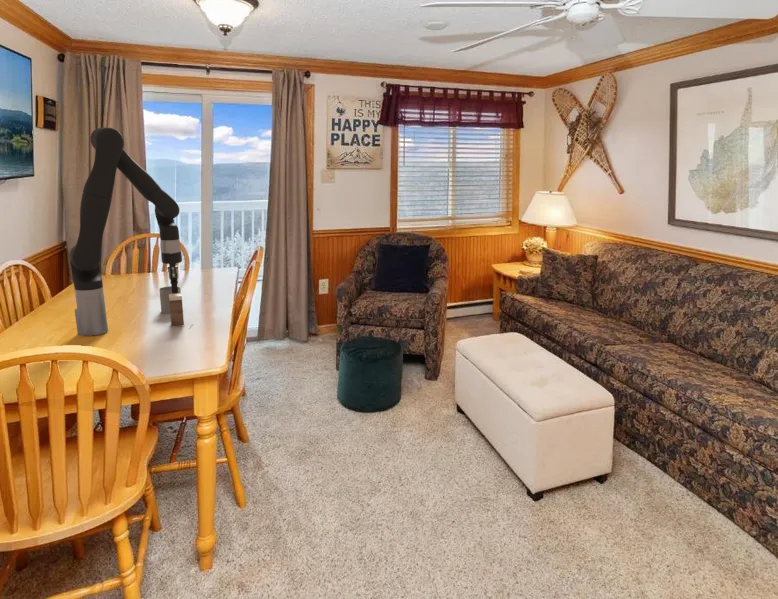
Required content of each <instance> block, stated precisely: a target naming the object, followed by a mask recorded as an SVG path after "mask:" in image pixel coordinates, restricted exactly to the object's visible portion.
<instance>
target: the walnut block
mask: <svg viewBox="0 0 778 599" xmlns="http://www.w3.org/2000/svg"><path fill="white" fill-rule="evenodd" d="M169 302H170V314H169V315H170V323H171V324H170V325H171V327H172V326H174V327H183V326H182V325H184V326H185V321H184V309H183V308H184V307H183V295H182V293H181V294H169Z"/></svg>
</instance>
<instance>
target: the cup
mask: <svg viewBox="0 0 778 599" xmlns="http://www.w3.org/2000/svg"><path fill="white" fill-rule="evenodd" d="M177 287H178V293H172V287H171V285H170V286H163V287H160V288H159V299H160V300H159V301H160V302H159V303H160V312H163V313H162V314H164V313H170V302H169V294H181V295H182V293H181V292H182V291H181V287H180V286H177Z"/></svg>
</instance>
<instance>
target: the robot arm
mask: <svg viewBox="0 0 778 599" xmlns="http://www.w3.org/2000/svg"><path fill="white" fill-rule="evenodd" d="M89 139H90V143H91V145H92V147H93V148H94V150H95V155H94V162H93V166H92V169H91V171H90V173H89V174H88V177H87V179H86V180H85V183H84V186H83V189H82V195H81V199H80V208H79V232H78V238H77V241H76V244H75V245H73V247H72V248H71V249H70V251H69V263H70V270H71V278H72V282H73V287H74V294H75V302H76V304H75V305H76V308H74V316H75V324H76V330H77V331H76V332H77V335H81V336H83V335H84V337H92V336H91V335H95V336H100V335H99V334H101V335H104V334H106V333H108V332H107V331H109V327H108V317H107V309H106V300H105V293H104V284H103V283H104V282H103V277H102V274H101V267H100V263H101V258H102V245H103V235H104V231H105V227H106V224H107V221H108V217H109V213H110V210H111V205H112V199H113V193H114V192H113V191H114V186H115V181H116V174H117V169H118V170H119V171H120V172H121V173H122V174H123V175H124V176H125V178H126V179H127V180H128V181H129V182H130V184H132V185H133V186H134V188H135V189H136V190H137V191H138V192H139V194H141V196H142V197H144V199H145V200H146V201H149V202H150V203H152V204H153V205H154V215H155V219H156V221H157V225H158V229H159V239H160V242H159V243H160V244H159V245H160V255H161V256H160V257H161V263H163V264H165V265H167V264H168V265H169V266H167V268H166V269H167V273H168V278H169V281H170V286H171V287H172V293H178V287H179V286H178V284H179V281H178V279H179V267H178V266H179V265H177V264H180V263H182V262H183V255H182V245H181V241H180V231H179V226H178V225H177V224H176V223H175V218H177V217H178V216H179V214H180V206H179V205H178V203H177V202H176V200H174V199H173V197H171V196H170V195H169V194H168V193H167V192H165V190H163V189H162V188H161V186H160V185H159V184H158V183H157V182H156V180H155V179H154V178H153V177H152V176H151V175H150V174H149V173H148V172H147V171H146V170H145V169H144V168H142V167H141V166H140V165H139V164H138V163H137V162H136V161H135V160H134V159H133V158H132V157H131V156H130V155H129V154H128V153H127V152H126V151H125V149H124V147H125V141H124V138H123V135H122V134H121V132H120V131H119V130H118V129H116V128H113V127H106V126H105V127H104V126H103V127H98V128H95V129H93V131H92V132H91V134H90V138H89ZM103 333H104V334H103Z"/></svg>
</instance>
